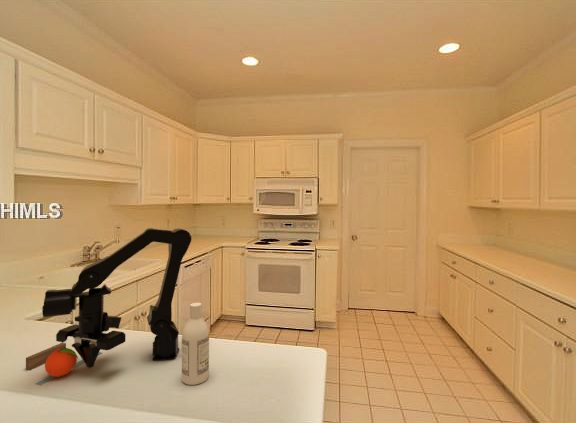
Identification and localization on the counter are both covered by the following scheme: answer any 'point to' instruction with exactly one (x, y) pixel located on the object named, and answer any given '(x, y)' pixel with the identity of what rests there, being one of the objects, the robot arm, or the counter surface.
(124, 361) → the counter surface
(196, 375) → the bath foam
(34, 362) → the rail
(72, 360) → the clementine
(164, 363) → the counter surface
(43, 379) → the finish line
